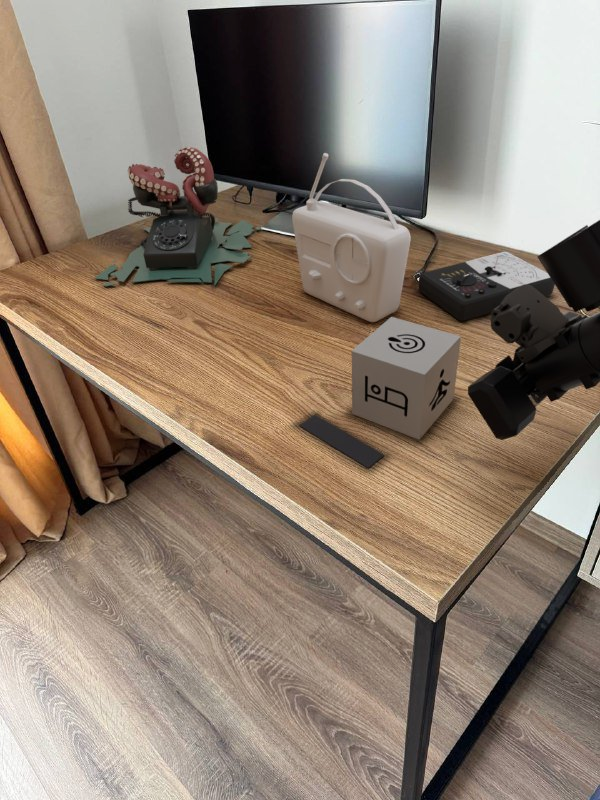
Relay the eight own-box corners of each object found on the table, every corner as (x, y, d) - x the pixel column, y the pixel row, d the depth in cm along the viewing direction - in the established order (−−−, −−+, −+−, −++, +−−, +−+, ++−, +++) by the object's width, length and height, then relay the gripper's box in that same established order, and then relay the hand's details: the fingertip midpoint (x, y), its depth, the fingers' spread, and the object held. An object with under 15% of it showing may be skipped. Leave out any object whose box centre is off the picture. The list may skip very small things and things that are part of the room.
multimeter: (416, 292, 106) (418, 266, 103) (503, 268, 111) (507, 243, 108) (460, 323, 96) (463, 296, 93) (553, 296, 101) (559, 269, 98)
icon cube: (352, 413, 79) (351, 350, 73) (389, 377, 85) (391, 316, 79) (419, 439, 74) (424, 374, 68) (453, 399, 80) (461, 336, 74)
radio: (288, 292, 109) (277, 151, 94) (321, 277, 113) (315, 140, 98) (376, 333, 95) (379, 175, 80) (409, 315, 99) (418, 161, 84)
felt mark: (384, 456, 72) (384, 454, 72) (368, 468, 70) (368, 467, 70) (315, 415, 79) (314, 414, 79) (299, 426, 78) (299, 425, 77)
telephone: (137, 224, 143) (117, 136, 131) (265, 220, 140) (256, 129, 128) (86, 289, 115) (55, 185, 103) (244, 285, 112) (231, 178, 100)
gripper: (598, 241, 59) (488, 306, 73) (499, 310, 50) (393, 370, 63) (657, 334, 59) (536, 382, 73) (570, 420, 50) (448, 458, 63)
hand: (481, 395), depth 68 cm, fingers closed
